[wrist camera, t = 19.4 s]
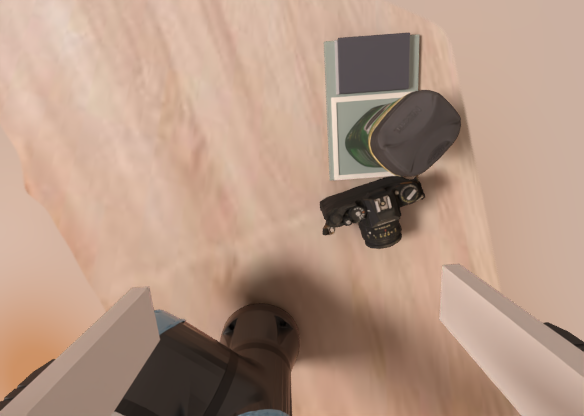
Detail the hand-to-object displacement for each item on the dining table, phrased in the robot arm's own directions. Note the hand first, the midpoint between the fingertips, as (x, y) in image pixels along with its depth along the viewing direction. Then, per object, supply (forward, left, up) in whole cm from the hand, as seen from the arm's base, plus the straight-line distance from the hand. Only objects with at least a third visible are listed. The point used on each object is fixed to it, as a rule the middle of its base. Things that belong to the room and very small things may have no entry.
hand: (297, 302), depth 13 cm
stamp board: (+14, +11, -39) cm, 43 cm away
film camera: (+14, -6, -39) cm, 42 cm away
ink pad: (+14, +18, -39) cm, 45 cm away
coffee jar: (+15, +7, -38) cm, 42 cm away
